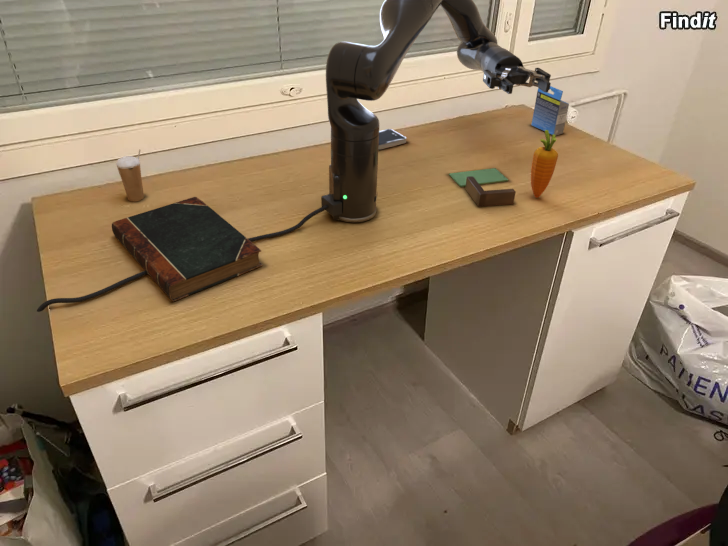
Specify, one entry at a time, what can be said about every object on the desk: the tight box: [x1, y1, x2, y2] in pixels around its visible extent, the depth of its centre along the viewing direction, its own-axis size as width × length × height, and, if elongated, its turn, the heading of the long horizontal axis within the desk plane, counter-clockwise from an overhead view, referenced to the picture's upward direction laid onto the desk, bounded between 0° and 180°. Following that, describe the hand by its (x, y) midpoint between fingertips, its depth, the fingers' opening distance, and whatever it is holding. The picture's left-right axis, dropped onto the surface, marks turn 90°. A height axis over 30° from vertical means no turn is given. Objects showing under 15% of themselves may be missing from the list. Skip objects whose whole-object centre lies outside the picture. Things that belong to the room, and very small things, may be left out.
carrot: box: [530, 130, 559, 199], centre depth 124 cm, size 5×5×15 cm
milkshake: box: [115, 149, 145, 202], centre depth 121 cm, size 4×5×10 cm
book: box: [111, 196, 264, 302], centre depth 106 cm, size 17×4×25 cm
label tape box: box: [531, 85, 570, 136], centre depth 158 cm, size 9×4×12 cm, turn 30°
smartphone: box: [378, 128, 407, 151], centre depth 150 cm, size 8×1×15 cm
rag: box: [448, 167, 509, 188], centre depth 135 cm, size 12×6×1 cm, turn 107°
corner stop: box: [464, 176, 517, 208], centre depth 127 cm, size 8×8×3 cm
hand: (529, 88), depth 127 cm, fingers open, 8 cm apart
